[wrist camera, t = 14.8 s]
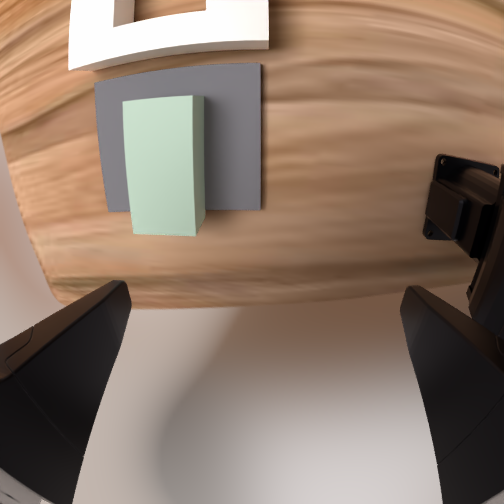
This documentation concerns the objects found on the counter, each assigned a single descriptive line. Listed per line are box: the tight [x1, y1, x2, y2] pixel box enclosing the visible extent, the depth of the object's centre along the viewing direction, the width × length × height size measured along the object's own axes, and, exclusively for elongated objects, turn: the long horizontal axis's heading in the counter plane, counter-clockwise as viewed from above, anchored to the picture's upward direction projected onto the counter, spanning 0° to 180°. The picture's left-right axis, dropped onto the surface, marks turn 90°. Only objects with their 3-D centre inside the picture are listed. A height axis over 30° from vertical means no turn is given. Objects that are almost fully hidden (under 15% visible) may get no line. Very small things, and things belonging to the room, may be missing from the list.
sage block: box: [123, 95, 205, 236], centre depth 17 cm, size 4×8×3 cm, turn 178°
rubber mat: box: [95, 63, 261, 212], centre depth 18 cm, size 11×10×1 cm
